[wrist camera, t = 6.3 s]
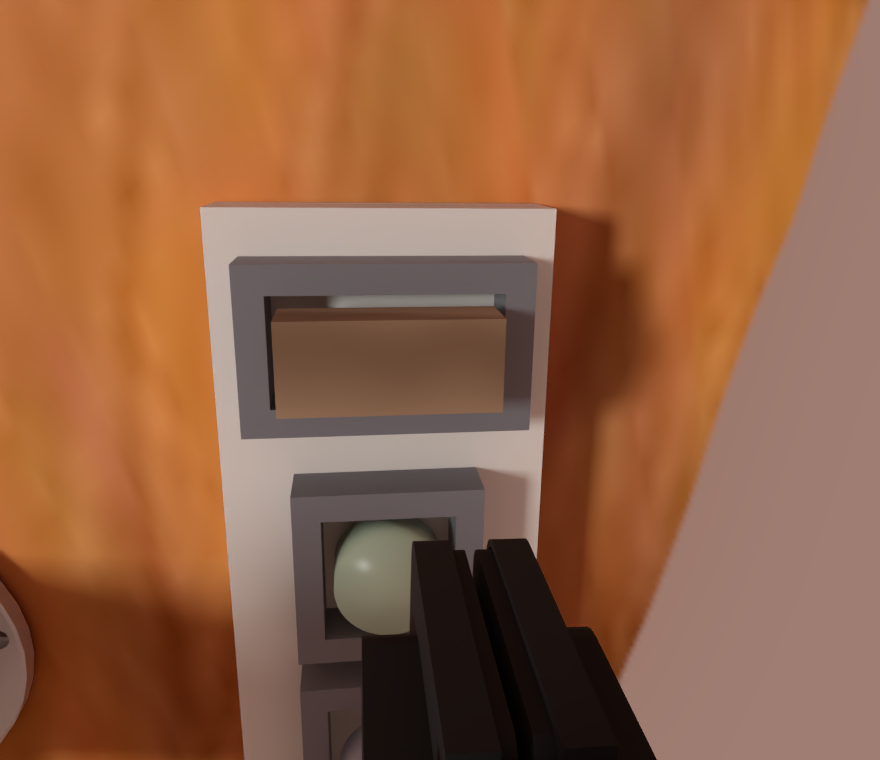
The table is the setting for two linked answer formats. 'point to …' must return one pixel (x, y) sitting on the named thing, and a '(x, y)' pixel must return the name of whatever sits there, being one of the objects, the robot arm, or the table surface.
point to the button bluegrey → (353, 746)
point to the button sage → (377, 573)
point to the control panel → (358, 431)
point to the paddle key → (388, 361)
